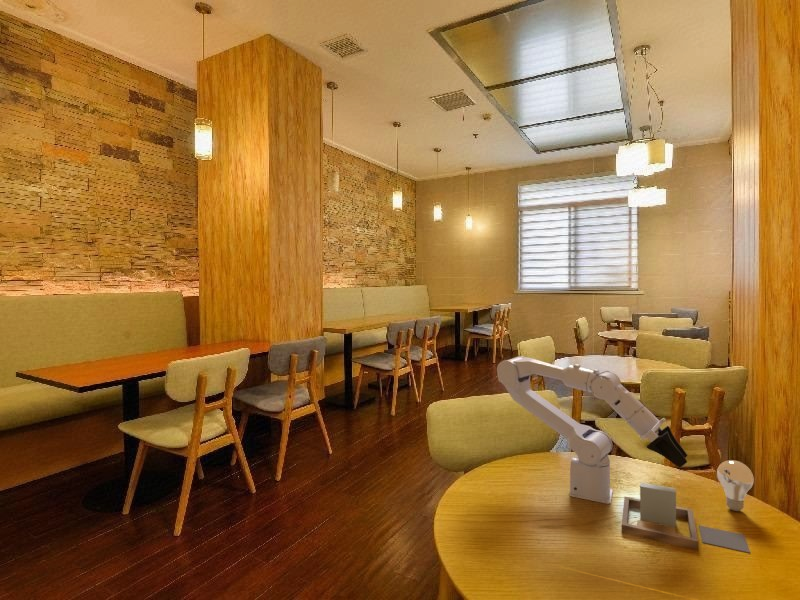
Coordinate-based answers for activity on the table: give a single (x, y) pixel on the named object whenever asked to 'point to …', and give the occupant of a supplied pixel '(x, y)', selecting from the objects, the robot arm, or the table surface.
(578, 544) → the table surface
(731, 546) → the mat
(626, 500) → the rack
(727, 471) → the light bulb
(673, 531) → the offcut upper
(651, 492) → the light grey slab
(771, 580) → the table surface
